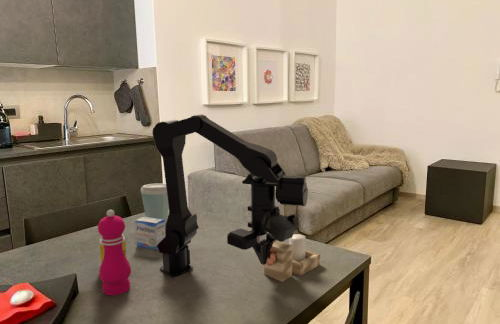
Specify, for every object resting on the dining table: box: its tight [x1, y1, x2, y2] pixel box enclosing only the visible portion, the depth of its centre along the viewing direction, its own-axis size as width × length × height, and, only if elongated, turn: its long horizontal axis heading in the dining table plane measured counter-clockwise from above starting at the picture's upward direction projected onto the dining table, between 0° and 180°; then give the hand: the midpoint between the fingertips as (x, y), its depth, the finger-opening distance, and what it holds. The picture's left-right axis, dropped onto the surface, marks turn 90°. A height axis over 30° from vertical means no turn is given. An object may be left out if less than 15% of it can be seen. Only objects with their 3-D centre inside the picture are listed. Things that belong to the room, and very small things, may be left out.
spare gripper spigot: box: [288, 233, 307, 262], centre depth 105 cm, size 4×4×8 cm
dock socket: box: [263, 240, 321, 283], centre depth 103 cm, size 14×9×8 cm, turn 136°
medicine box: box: [134, 216, 166, 251], centre depth 119 cm, size 8×4×9 cm, turn 68°
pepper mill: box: [97, 209, 132, 296], centre depth 92 cm, size 7×7×20 cm
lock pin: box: [266, 250, 277, 266], centre depth 99 cm, size 8×4×4 cm, turn 136°
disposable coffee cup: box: [140, 183, 169, 226], centre depth 137 cm, size 11×11×15 cm
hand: (263, 264), depth 95 cm, fingers closed
